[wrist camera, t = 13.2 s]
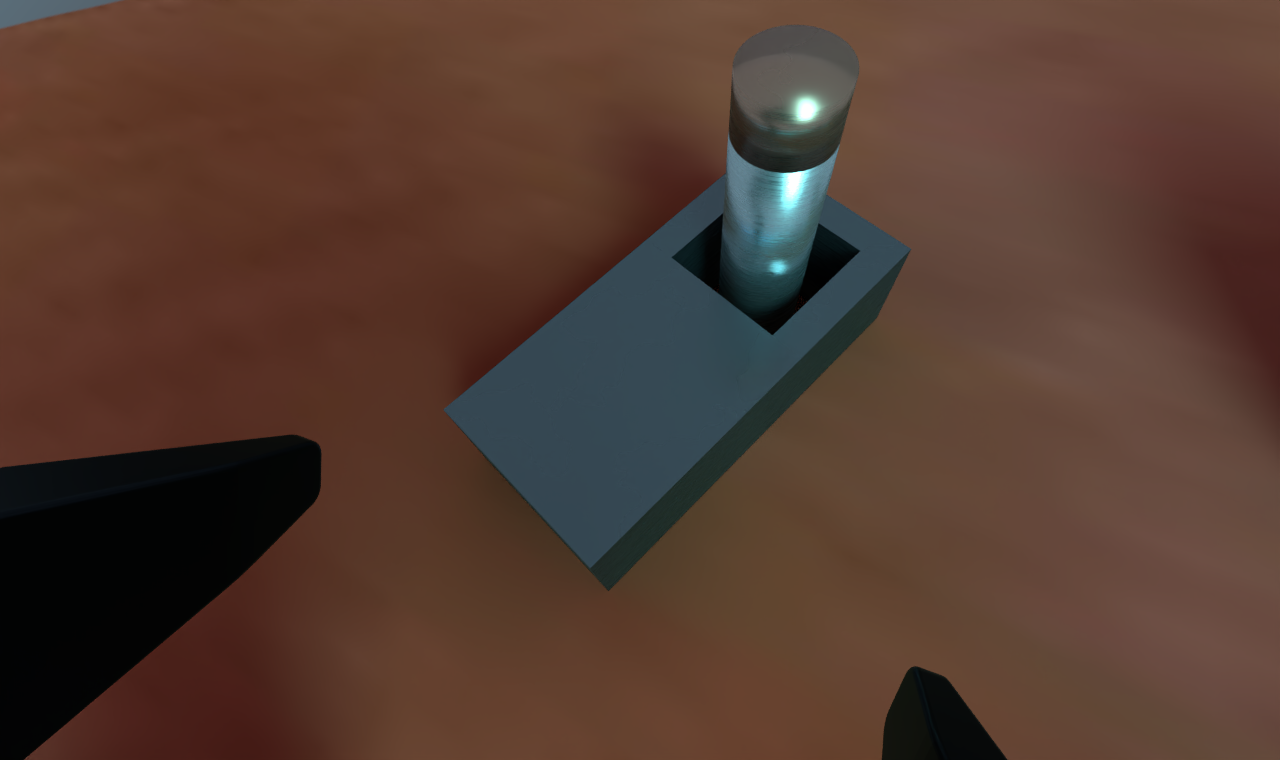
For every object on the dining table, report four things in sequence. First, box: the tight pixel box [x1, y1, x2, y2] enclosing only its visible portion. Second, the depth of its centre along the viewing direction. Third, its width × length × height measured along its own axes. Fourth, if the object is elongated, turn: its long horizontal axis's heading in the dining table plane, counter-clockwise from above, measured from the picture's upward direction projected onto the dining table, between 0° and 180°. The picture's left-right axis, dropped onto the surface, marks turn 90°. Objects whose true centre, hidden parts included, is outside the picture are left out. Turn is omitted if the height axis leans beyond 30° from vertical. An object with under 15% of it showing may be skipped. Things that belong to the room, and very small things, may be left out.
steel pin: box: [718, 25, 859, 335], centre depth 21 cm, size 3×3×12 cm
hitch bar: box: [444, 174, 911, 591], centre depth 23 cm, size 15×7×4 cm, turn 134°
